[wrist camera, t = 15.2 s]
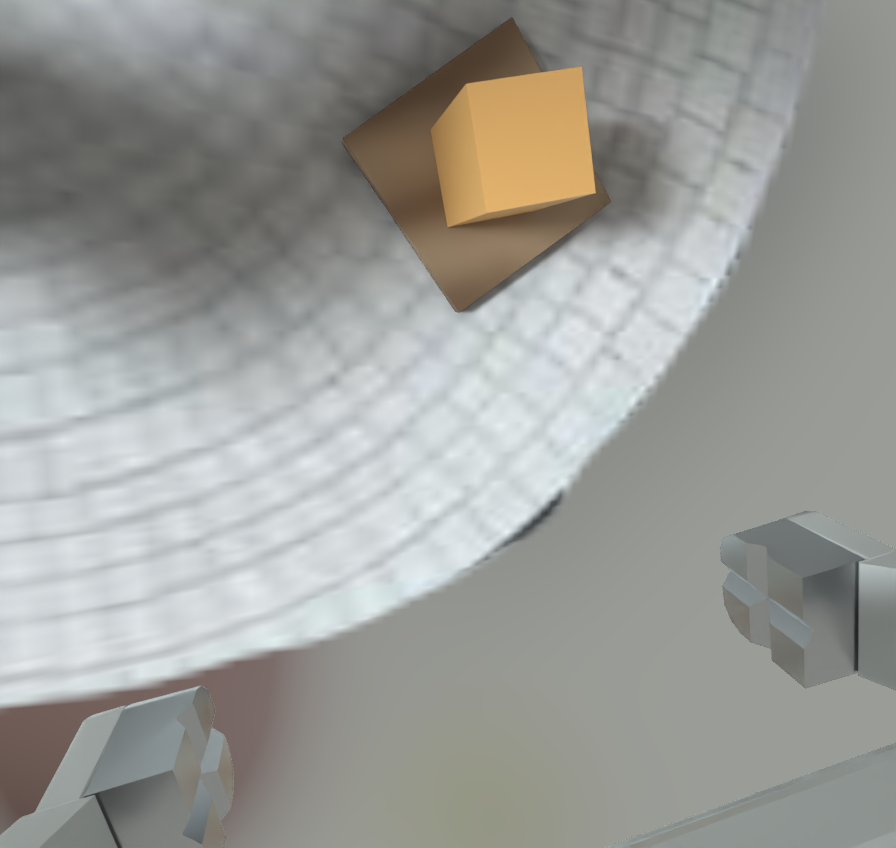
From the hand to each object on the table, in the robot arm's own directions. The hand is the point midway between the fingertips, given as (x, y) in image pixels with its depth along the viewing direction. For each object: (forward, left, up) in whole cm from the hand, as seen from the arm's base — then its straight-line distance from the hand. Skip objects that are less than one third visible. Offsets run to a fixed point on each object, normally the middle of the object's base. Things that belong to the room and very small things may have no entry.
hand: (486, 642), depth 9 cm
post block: (-5, +13, -31) cm, 34 cm away
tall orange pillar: (-5, +13, -30) cm, 33 cm away
